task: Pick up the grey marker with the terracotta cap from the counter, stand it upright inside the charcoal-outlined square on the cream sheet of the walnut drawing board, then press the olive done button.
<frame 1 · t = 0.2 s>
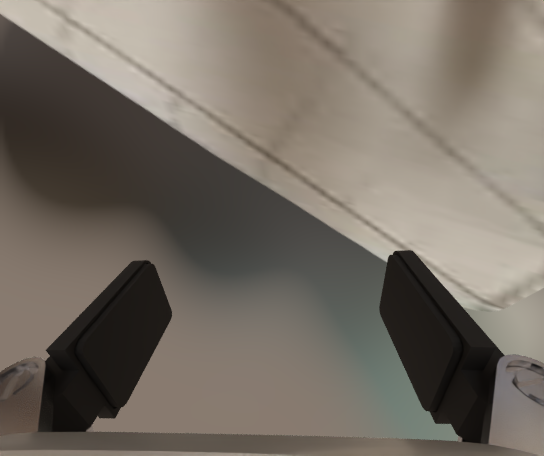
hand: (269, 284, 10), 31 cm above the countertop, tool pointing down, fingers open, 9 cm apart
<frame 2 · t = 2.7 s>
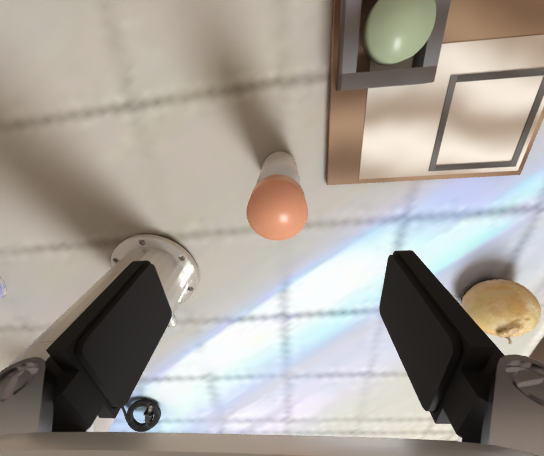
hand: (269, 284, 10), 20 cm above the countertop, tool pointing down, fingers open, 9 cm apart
done button: (396, 27, 19), point 3 cm above the countertop, slide at 0.0 cm
marker: (279, 169, 28), on the countertop
onion: (481, 291, 35), on the countertop
milk frother: (126, 395, 53), on the countertop
drawing board: (436, 88, 24), on the countertop
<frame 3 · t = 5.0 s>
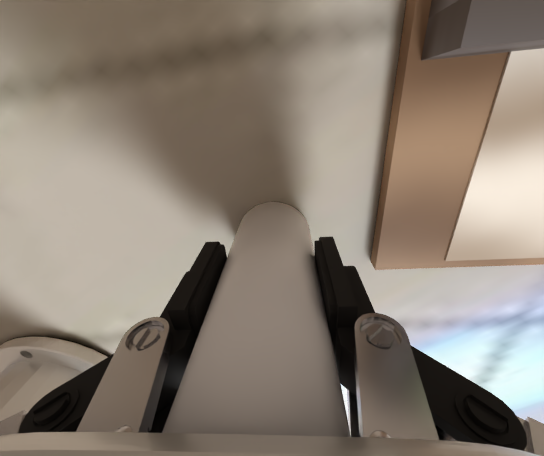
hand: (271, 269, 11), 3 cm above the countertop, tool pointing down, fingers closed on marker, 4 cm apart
marker: (273, 235, 13), on the countertop, touching gripper
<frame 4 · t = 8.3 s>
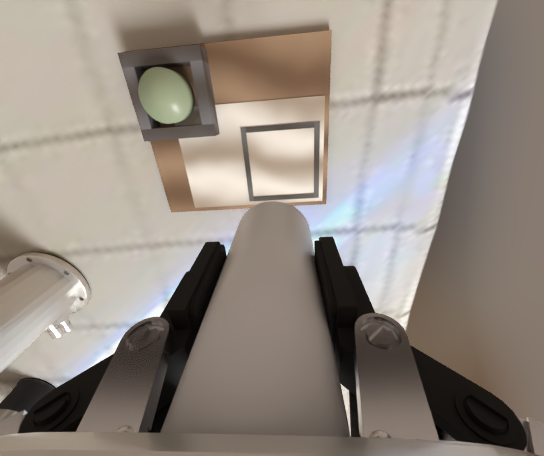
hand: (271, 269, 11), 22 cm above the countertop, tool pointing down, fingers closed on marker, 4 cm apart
done button: (167, 97, 24), point 3 cm above the countertop, slide at 0.0 cm
marker: (273, 234, 13), point 19 cm above the countertop, touching gripper
milk frother: (58, 394, 57), on the countertop
drawing board: (238, 136, 28), on the countertop
when the fingers open (5 cm above the countertop, at t = 11.8 s): marker drops 1 cm, resting on drawing board.
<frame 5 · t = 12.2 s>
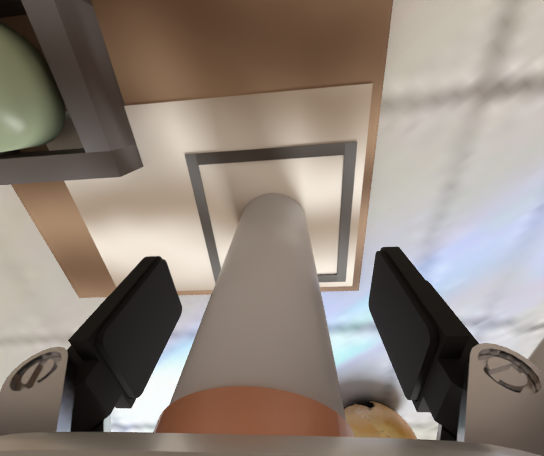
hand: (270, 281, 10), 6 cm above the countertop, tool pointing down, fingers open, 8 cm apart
marker: (273, 224, 14), point 1 cm above the countertop, touching drawing board
onion: (364, 409, 26), on the countertop
drawing board: (186, 169, 14), on the countertop
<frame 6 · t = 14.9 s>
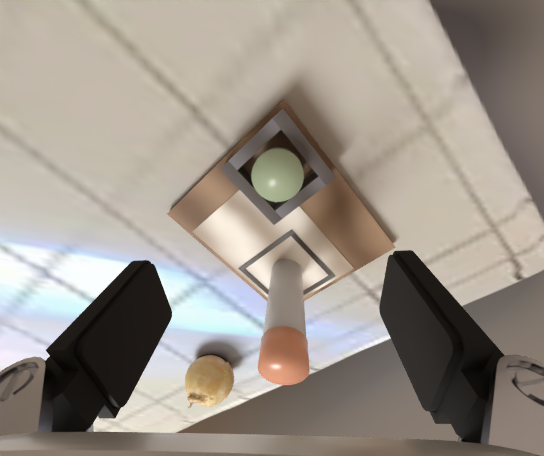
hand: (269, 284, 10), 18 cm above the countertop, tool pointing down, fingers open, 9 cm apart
done button: (277, 174, 23), point 3 cm above the countertop, slide at 0.0 cm
marker: (286, 271, 31), point 1 cm above the countertop, touching drawing board
onion: (214, 361, 43), on the countertop
drawing board: (282, 227, 29), on the countertop
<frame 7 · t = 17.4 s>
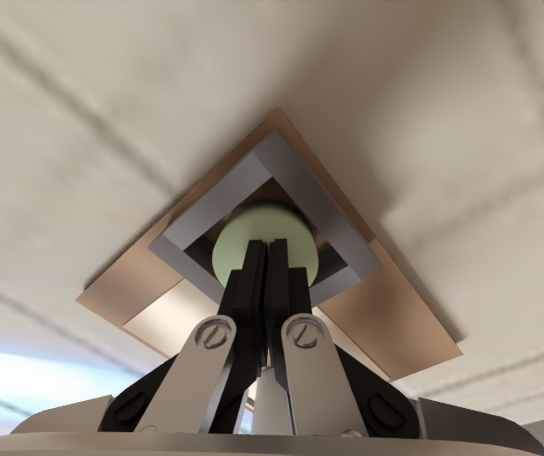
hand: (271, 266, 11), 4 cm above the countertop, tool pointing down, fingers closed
done button: (266, 253, 12), point 3 cm above the countertop, slide at 0.8 cm, touching gripper
marker: (281, 381, 19), point 1 cm above the countertop, touching drawing board
drawing board: (275, 319, 17), on the countertop
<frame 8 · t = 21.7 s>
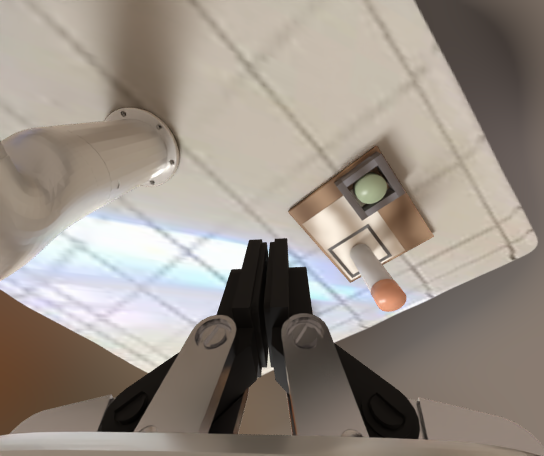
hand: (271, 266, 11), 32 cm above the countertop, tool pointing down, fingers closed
done button: (369, 188, 39), point 2 cm above the countertop, slide at 1.2 cm
marker: (359, 252, 46), point 1 cm above the countertop, touching drawing board
drawing board: (360, 222, 45), on the countertop
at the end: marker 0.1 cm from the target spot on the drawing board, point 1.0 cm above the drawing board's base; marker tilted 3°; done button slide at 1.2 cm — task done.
